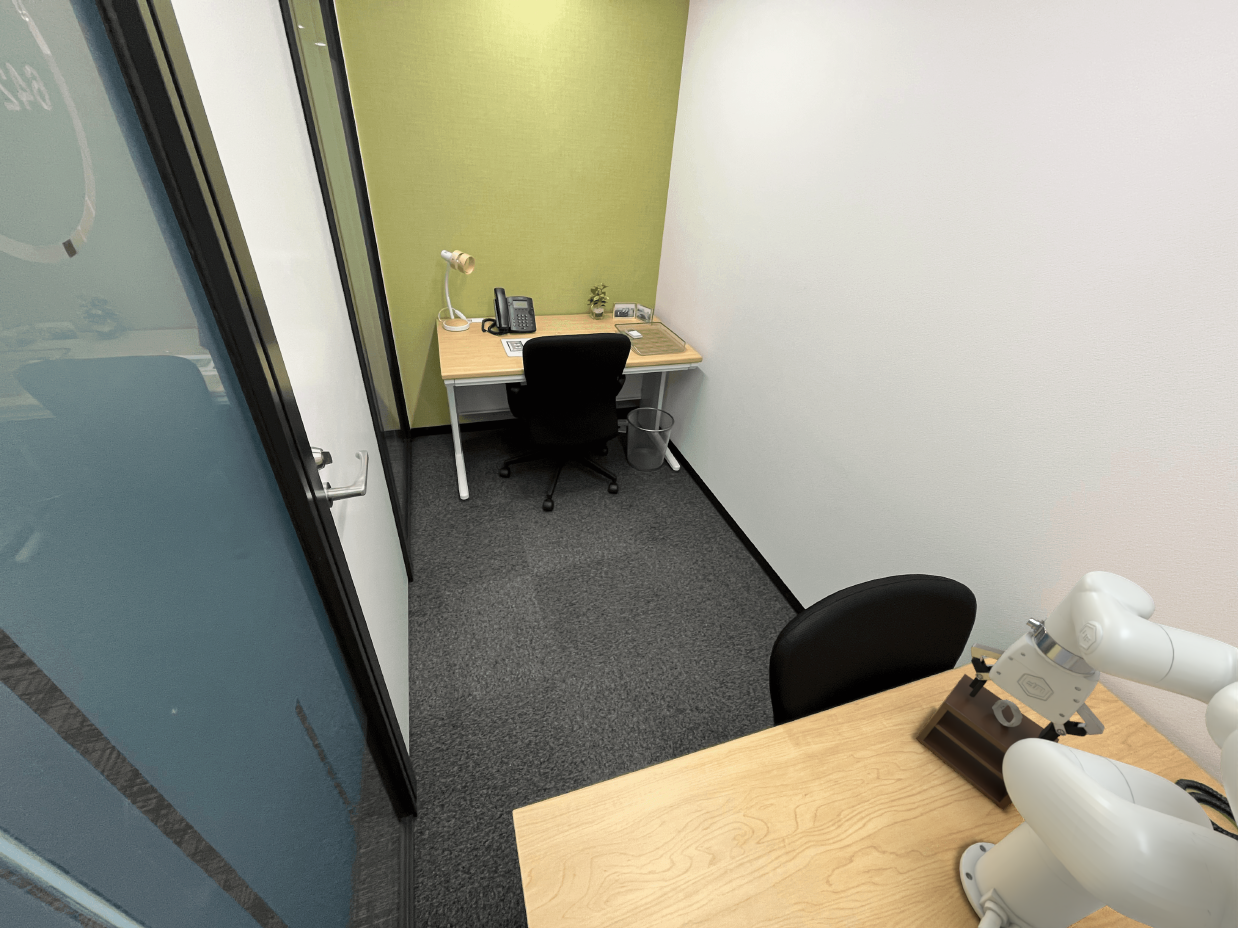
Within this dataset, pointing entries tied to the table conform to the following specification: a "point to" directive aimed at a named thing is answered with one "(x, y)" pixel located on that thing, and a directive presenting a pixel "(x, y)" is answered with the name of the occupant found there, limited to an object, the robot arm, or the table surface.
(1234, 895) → the robot arm
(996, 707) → the grey ring
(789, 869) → the table surface
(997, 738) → the rack
